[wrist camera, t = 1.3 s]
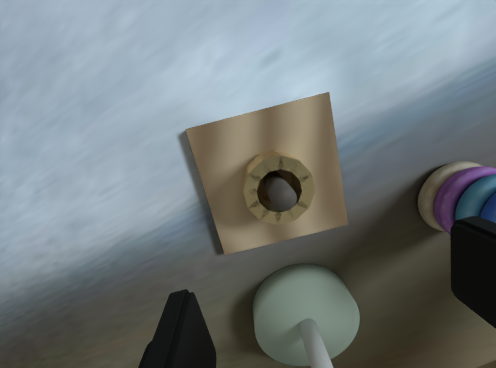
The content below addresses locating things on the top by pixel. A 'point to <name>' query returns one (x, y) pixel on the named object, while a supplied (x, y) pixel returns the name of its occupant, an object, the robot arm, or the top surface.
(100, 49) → the top surface
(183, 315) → the robot arm
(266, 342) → the sage hub
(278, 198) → the oak stand
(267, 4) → the top surface
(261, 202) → the brass ring
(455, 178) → the stacking toy
